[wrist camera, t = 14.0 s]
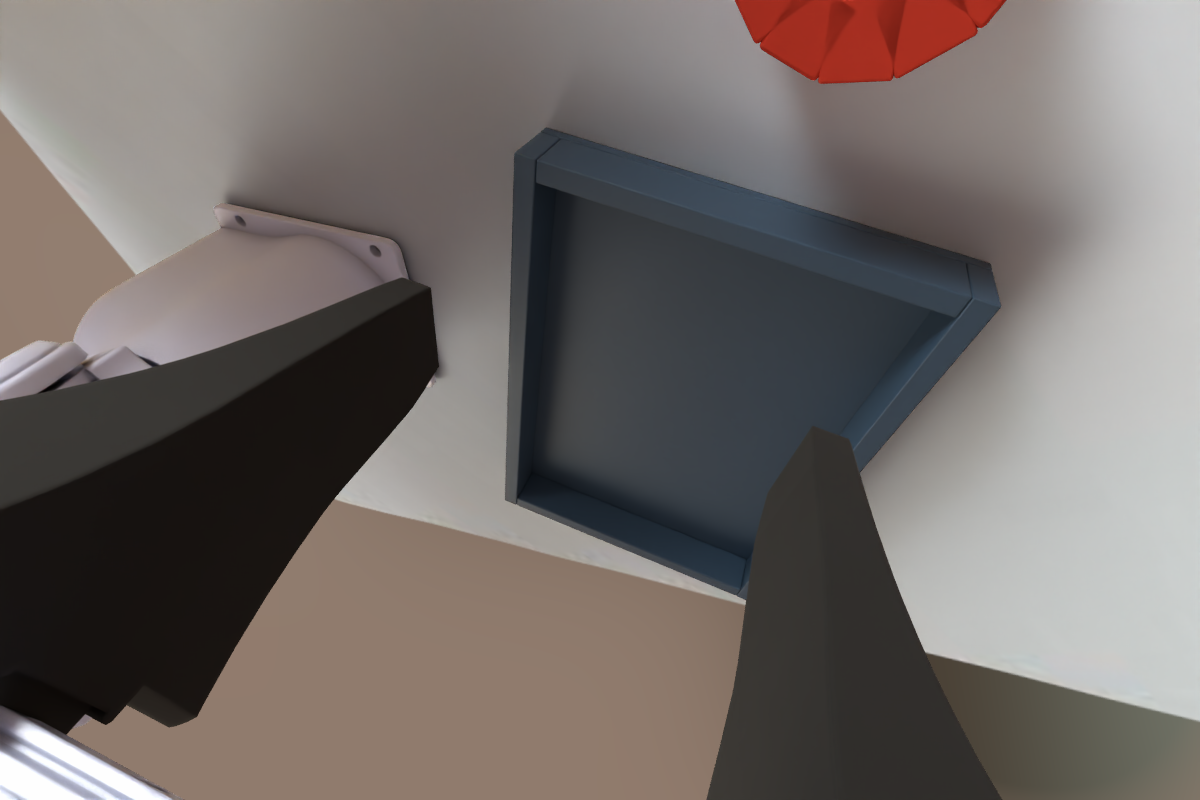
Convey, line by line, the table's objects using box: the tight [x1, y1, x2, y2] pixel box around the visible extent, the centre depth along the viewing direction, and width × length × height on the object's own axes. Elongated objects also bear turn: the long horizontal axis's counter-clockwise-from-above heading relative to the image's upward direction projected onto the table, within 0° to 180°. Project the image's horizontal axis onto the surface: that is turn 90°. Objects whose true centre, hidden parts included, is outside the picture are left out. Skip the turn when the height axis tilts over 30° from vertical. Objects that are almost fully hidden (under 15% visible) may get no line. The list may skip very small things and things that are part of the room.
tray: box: [505, 128, 1001, 600], centre depth 22 cm, size 13×18×2 cm
